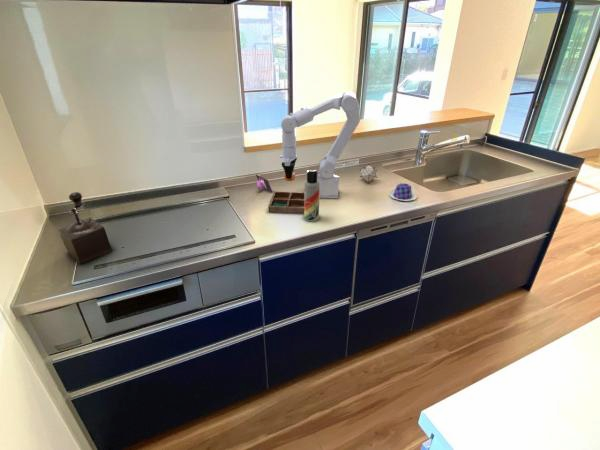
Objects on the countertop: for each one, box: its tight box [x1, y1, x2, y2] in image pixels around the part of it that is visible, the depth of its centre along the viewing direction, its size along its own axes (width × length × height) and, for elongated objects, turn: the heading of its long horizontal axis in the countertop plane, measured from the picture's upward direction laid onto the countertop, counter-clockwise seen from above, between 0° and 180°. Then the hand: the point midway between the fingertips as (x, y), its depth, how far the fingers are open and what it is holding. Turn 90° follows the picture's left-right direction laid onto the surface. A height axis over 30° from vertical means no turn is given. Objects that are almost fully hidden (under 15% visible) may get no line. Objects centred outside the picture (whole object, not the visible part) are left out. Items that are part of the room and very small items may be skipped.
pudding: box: [388, 182, 418, 202], centre depth 151 cm, size 12×12×5 cm
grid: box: [268, 190, 304, 215], centre depth 144 cm, size 15×15×3 cm
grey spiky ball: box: [359, 163, 378, 184], centre depth 165 cm, size 9×8×10 cm
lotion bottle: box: [303, 169, 320, 222], centre depth 130 cm, size 6×6×20 cm
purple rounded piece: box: [255, 174, 273, 193], centre depth 157 cm, size 7×5×9 cm
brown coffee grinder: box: [57, 191, 113, 265], centre depth 112 cm, size 16×11×18 cm
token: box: [283, 171, 296, 182], centre depth 151 cm, size 5×5×2 cm
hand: (289, 176), depth 151 cm, fingers closed on token, 5 cm apart
